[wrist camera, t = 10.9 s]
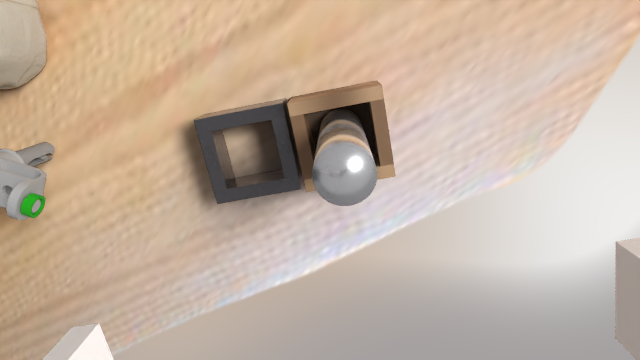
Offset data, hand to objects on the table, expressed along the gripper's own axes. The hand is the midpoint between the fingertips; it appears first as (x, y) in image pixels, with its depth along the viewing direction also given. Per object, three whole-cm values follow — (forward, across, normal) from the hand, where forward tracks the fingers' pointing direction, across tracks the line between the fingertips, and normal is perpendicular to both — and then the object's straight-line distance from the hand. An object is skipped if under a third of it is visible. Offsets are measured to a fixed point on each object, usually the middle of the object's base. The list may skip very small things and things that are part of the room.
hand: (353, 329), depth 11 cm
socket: (+27, -7, 0) cm, 28 cm away
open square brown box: (+27, 0, 0) cm, 27 cm away
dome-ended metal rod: (+27, 0, 0) cm, 27 cm away
